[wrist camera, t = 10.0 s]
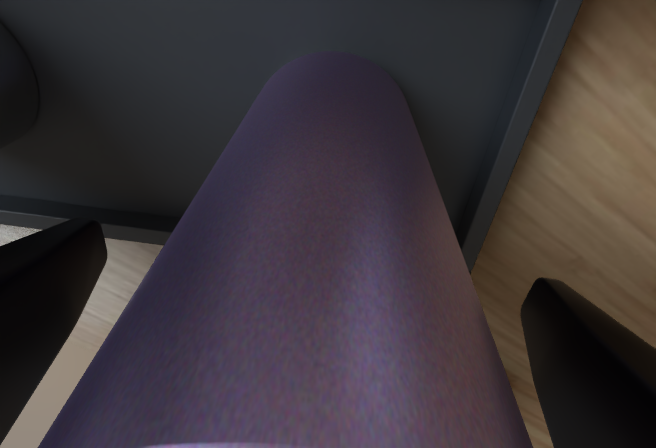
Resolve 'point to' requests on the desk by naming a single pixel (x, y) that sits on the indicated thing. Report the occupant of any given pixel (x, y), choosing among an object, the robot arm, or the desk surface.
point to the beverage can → (305, 294)
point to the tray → (245, 85)
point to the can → (15, 90)
